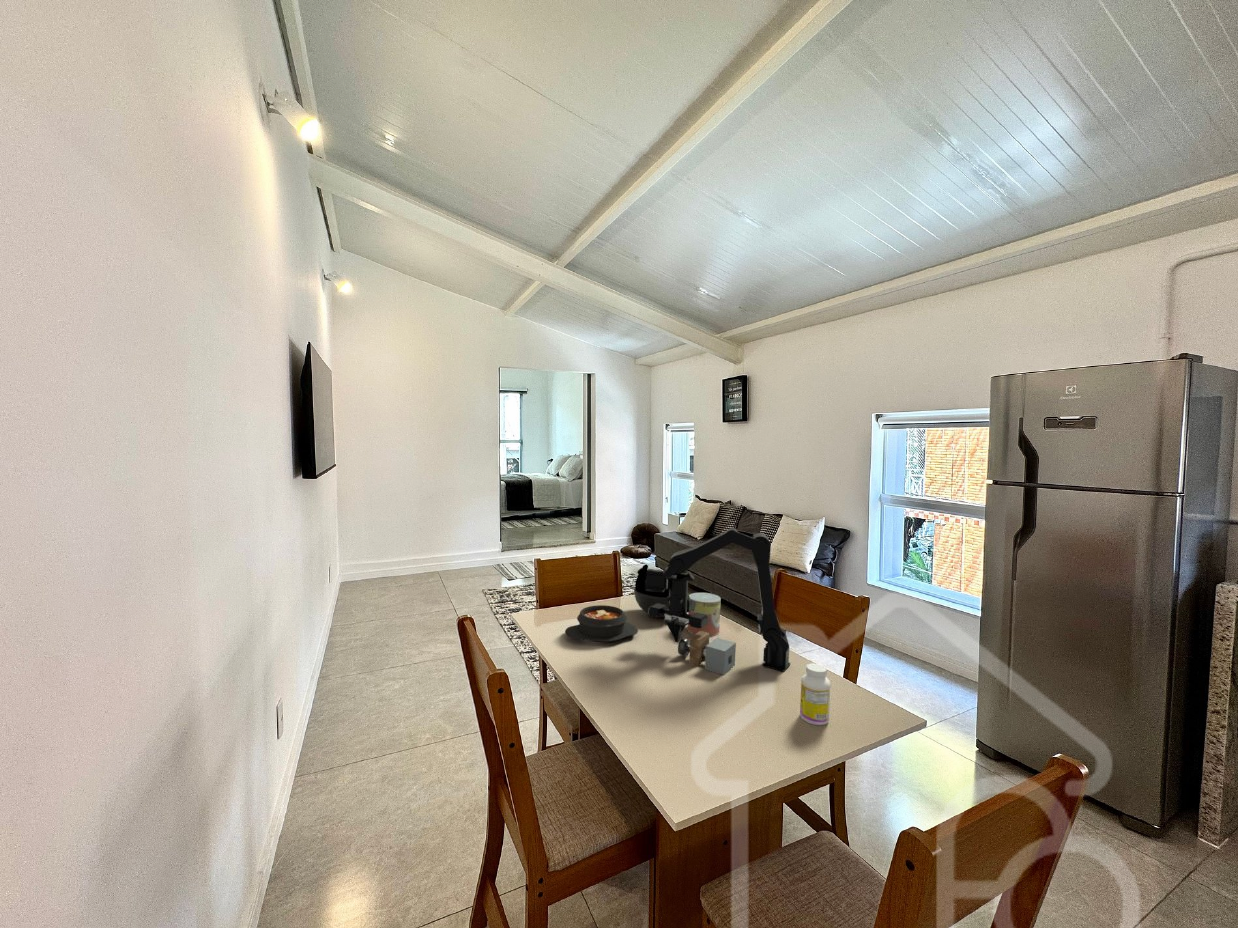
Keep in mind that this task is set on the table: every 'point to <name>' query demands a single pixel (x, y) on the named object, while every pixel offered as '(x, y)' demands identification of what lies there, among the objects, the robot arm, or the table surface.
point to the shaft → (687, 648)
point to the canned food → (707, 612)
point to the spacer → (698, 647)
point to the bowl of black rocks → (649, 593)
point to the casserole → (601, 625)
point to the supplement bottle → (815, 695)
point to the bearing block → (720, 656)
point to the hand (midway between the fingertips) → (677, 642)
